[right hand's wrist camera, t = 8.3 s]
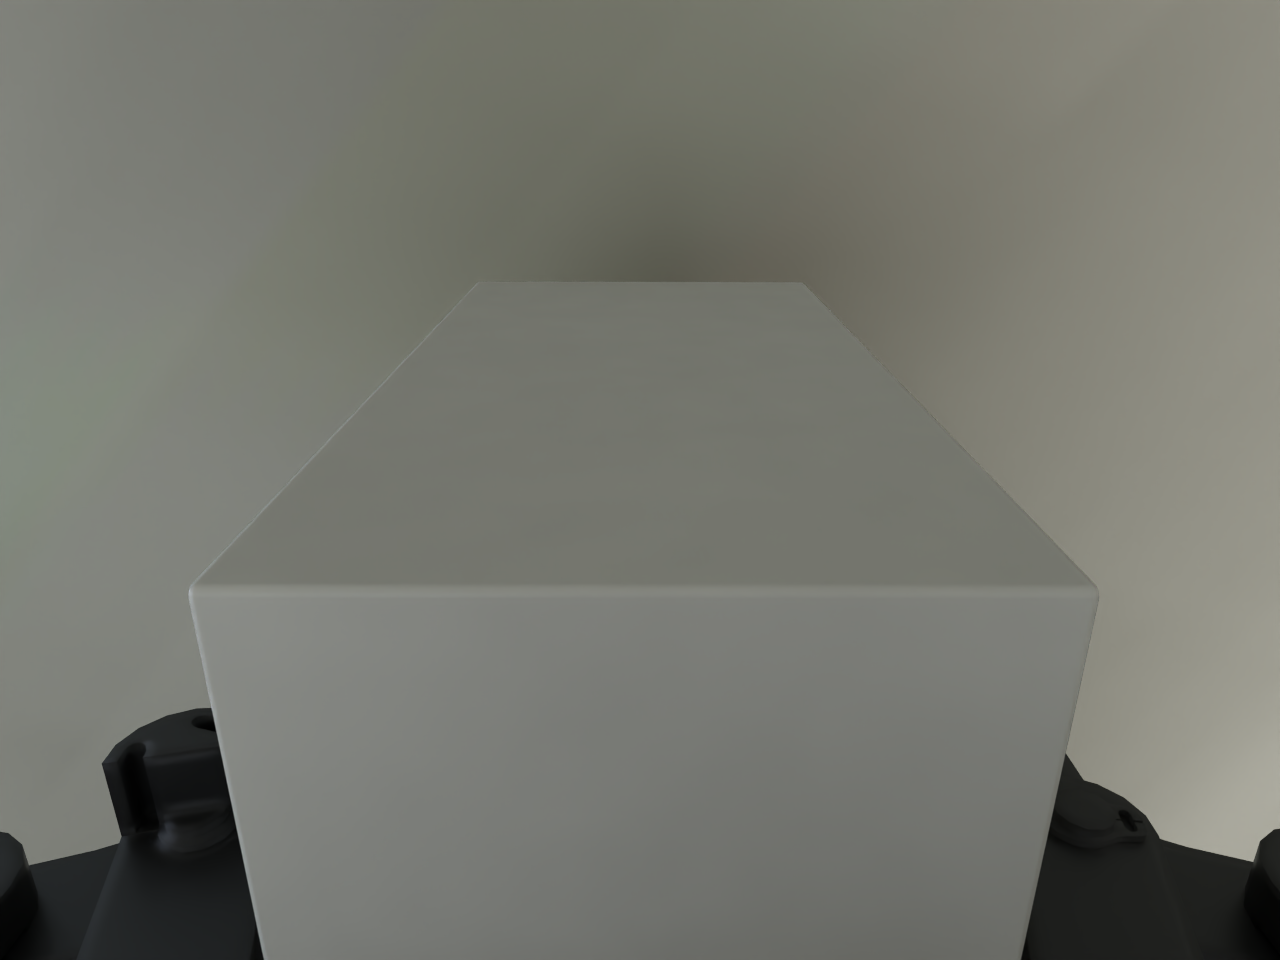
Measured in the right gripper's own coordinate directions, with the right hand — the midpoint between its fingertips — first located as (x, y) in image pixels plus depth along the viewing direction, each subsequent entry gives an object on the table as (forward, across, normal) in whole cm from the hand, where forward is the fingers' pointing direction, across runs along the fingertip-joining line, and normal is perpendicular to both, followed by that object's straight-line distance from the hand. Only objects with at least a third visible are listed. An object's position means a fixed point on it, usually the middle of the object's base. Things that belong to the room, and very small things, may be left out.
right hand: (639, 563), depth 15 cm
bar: (+1, 0, -8) cm, 8 cm away
